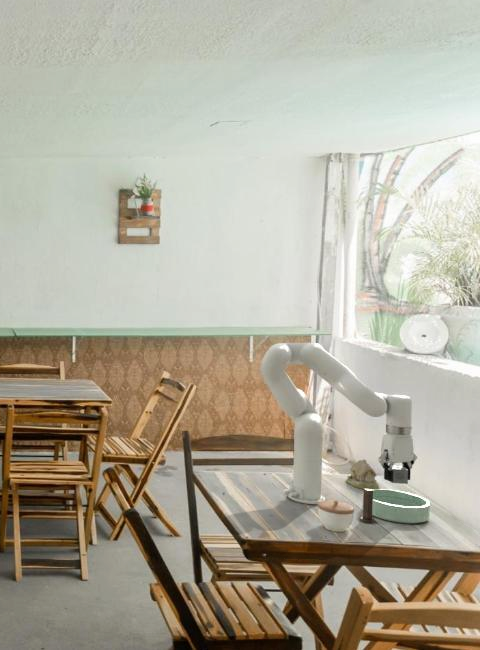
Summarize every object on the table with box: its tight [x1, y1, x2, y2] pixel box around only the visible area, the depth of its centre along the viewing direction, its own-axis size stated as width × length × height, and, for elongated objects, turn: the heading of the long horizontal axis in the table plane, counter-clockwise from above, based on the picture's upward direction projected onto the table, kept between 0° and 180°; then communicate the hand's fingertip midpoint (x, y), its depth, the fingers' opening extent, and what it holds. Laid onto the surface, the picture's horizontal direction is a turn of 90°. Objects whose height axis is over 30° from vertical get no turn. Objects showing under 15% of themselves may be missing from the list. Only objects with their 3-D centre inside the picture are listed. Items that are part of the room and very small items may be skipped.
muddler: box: [359, 489, 376, 524], centre depth 230 cm, size 4×4×11 cm
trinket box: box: [317, 499, 355, 533], centre depth 223 cm, size 11×11×9 cm
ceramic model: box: [346, 459, 380, 490], centre depth 271 cm, size 14×11×10 cm
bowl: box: [362, 488, 431, 524], centre depth 237 cm, size 20×20×6 cm
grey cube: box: [390, 465, 409, 485], centre depth 239 cm, size 5×5×5 cm
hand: (397, 479), depth 239 cm, fingers closed on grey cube, 6 cm apart
